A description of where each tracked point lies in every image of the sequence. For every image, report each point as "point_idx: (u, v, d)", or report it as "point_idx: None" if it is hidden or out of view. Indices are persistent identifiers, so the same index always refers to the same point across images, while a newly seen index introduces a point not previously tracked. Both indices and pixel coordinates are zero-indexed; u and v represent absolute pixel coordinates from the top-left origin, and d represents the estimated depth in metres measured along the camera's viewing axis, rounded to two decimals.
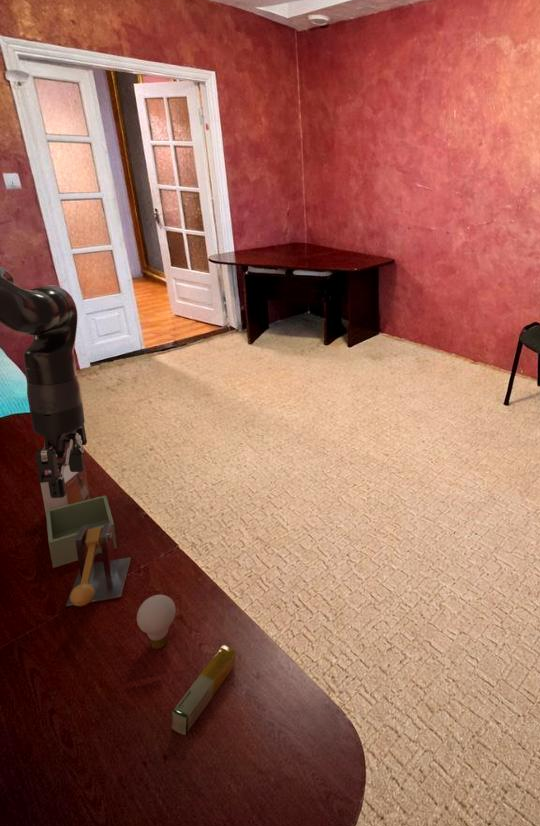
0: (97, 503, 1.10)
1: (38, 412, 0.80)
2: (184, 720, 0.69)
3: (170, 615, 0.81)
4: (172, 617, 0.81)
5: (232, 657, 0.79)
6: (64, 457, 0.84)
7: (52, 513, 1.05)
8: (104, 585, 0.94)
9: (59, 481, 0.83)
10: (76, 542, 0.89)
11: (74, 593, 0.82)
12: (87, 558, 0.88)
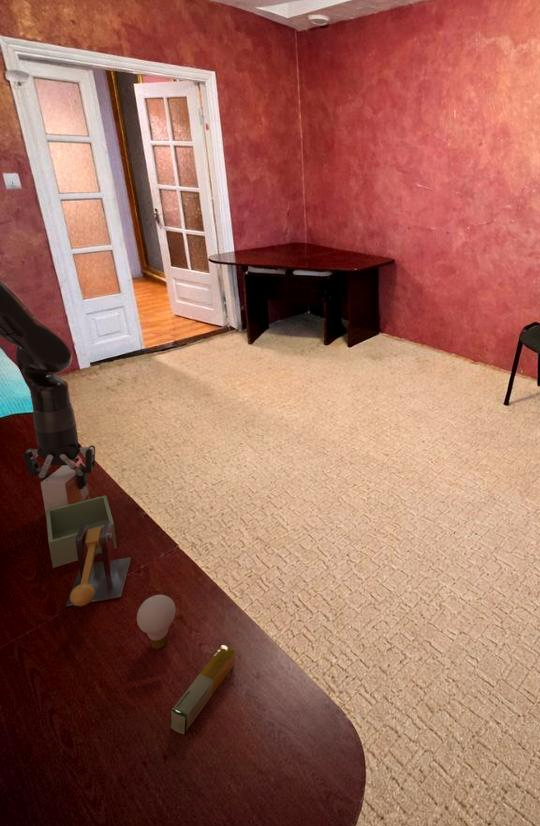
0: (97, 503, 1.10)
1: None
2: (182, 720, 0.69)
3: (170, 615, 0.81)
4: (172, 617, 0.81)
5: (231, 657, 0.79)
6: None
7: (52, 513, 1.05)
8: (104, 585, 0.94)
9: (42, 478, 1.11)
10: (76, 542, 0.89)
11: (74, 593, 0.82)
12: (87, 558, 0.88)
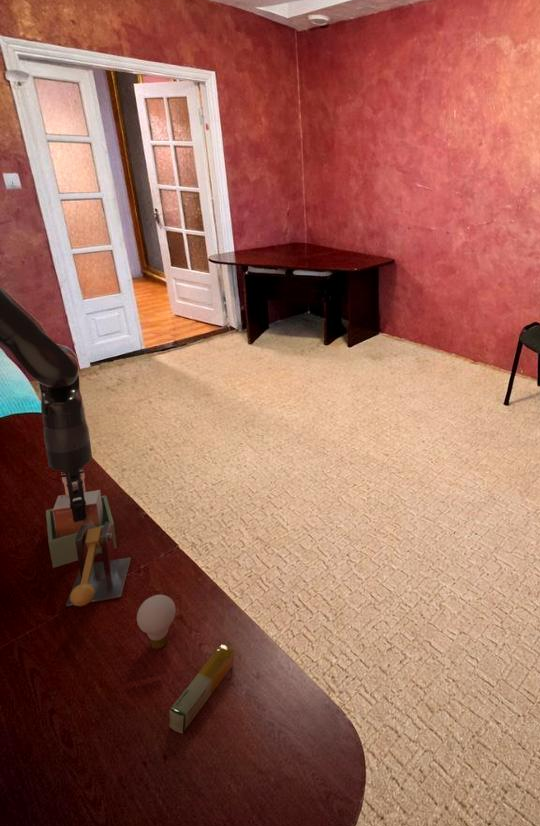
0: None
1: None
2: (181, 719, 0.69)
3: (170, 615, 0.81)
4: (172, 617, 0.81)
5: (231, 657, 0.79)
6: None
7: (52, 513, 1.05)
8: (104, 585, 0.94)
9: None
10: (76, 542, 0.89)
11: (74, 593, 0.82)
12: (87, 558, 0.88)
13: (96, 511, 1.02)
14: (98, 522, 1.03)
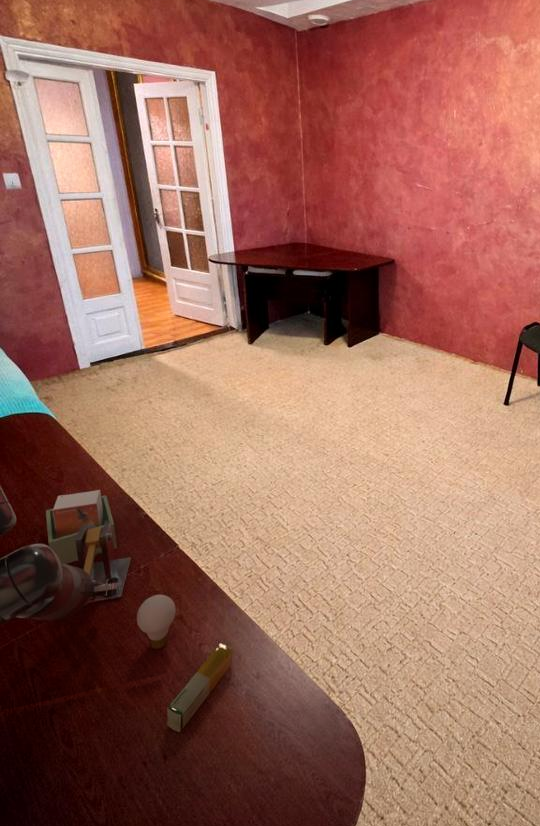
0: None
1: (82, 596, 0.73)
2: (178, 718, 0.69)
3: (170, 615, 0.81)
4: (172, 617, 0.81)
5: (229, 656, 0.79)
6: (92, 581, 0.81)
7: (52, 513, 1.05)
8: None
9: None
10: (76, 542, 0.89)
11: None
12: (87, 558, 0.88)
13: (96, 511, 1.02)
14: (98, 522, 1.03)
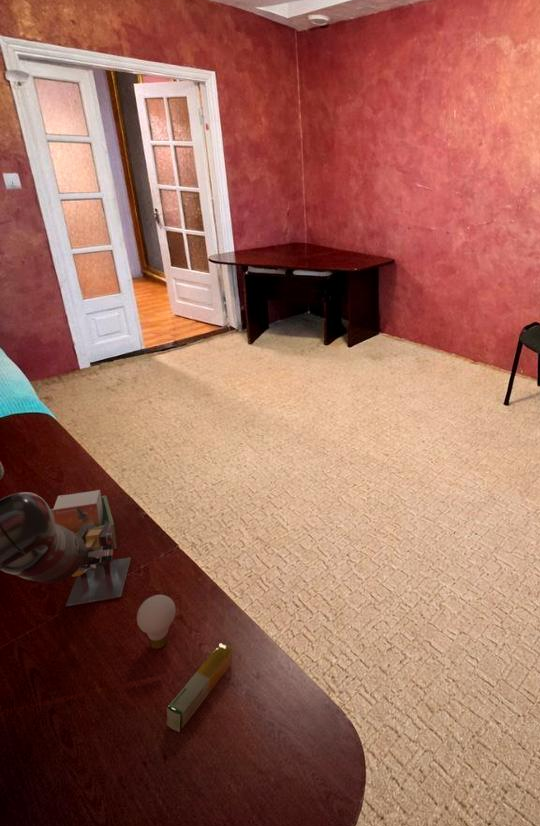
0: None
1: (75, 558, 0.70)
2: (178, 717, 0.69)
3: (170, 615, 0.81)
4: (172, 617, 0.81)
5: (229, 656, 0.79)
6: None
7: (52, 513, 1.05)
8: (104, 585, 0.94)
9: None
10: None
11: None
12: None
13: (96, 511, 1.02)
14: (98, 522, 1.03)
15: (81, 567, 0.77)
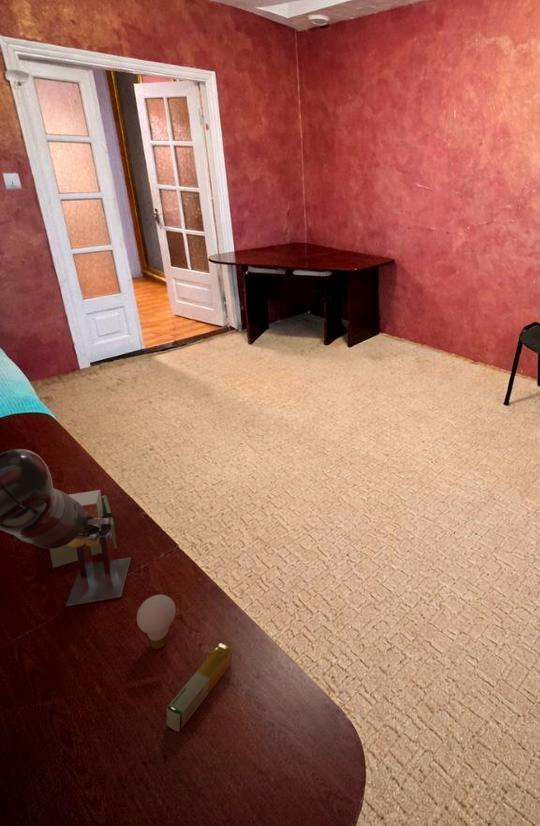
0: None
1: (74, 523, 0.71)
2: (177, 717, 0.69)
3: (170, 615, 0.81)
4: (172, 617, 0.81)
5: (229, 656, 0.79)
6: None
7: None
8: (104, 585, 0.94)
9: None
10: None
11: None
12: None
13: (96, 511, 1.02)
14: None
15: (81, 535, 0.77)
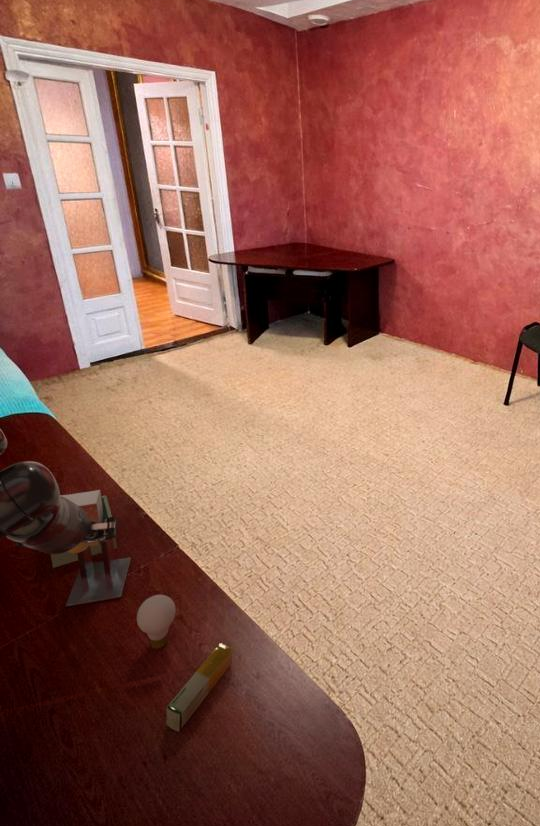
0: None
1: (79, 530, 0.72)
2: (177, 717, 0.69)
3: (170, 615, 0.81)
4: (172, 617, 0.81)
5: (229, 656, 0.79)
6: None
7: None
8: (104, 585, 0.94)
9: None
10: None
11: None
12: None
13: (96, 511, 1.02)
14: (98, 522, 1.03)
15: (86, 539, 0.79)
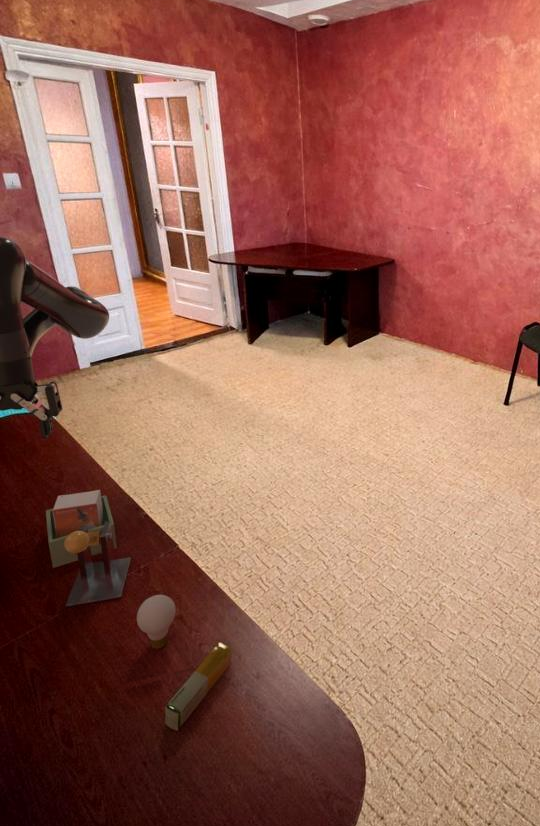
0: None
1: (24, 357, 0.83)
2: (176, 716, 0.70)
3: (170, 615, 0.81)
4: (172, 617, 0.81)
5: (228, 655, 0.79)
6: (37, 398, 0.88)
7: (52, 513, 1.05)
8: (104, 585, 0.94)
9: None
10: None
11: (71, 533, 0.82)
12: None
13: (96, 511, 1.02)
14: (98, 522, 1.03)
15: (26, 400, 0.85)
